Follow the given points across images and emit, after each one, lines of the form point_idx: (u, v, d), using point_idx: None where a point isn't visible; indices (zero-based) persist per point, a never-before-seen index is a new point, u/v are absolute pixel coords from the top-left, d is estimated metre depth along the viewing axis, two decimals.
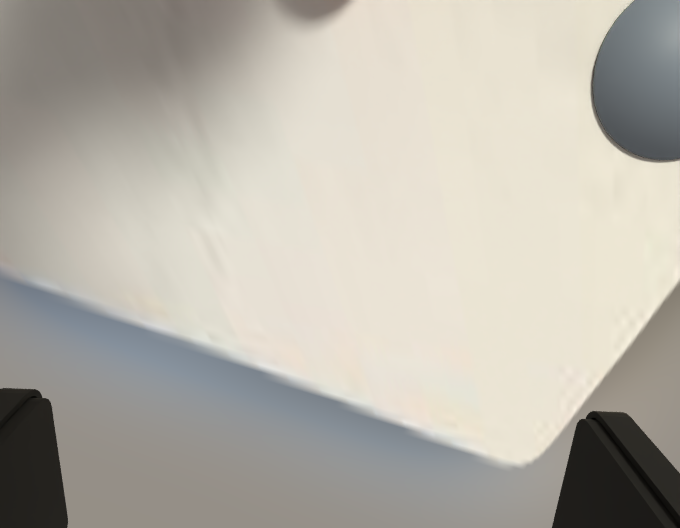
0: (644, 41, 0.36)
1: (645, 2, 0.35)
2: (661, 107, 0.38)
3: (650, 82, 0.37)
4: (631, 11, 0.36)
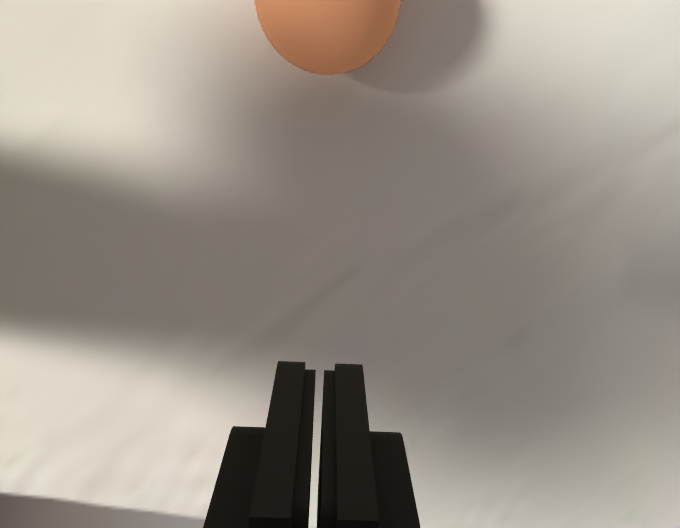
0: None
1: None
2: None
3: None
4: None
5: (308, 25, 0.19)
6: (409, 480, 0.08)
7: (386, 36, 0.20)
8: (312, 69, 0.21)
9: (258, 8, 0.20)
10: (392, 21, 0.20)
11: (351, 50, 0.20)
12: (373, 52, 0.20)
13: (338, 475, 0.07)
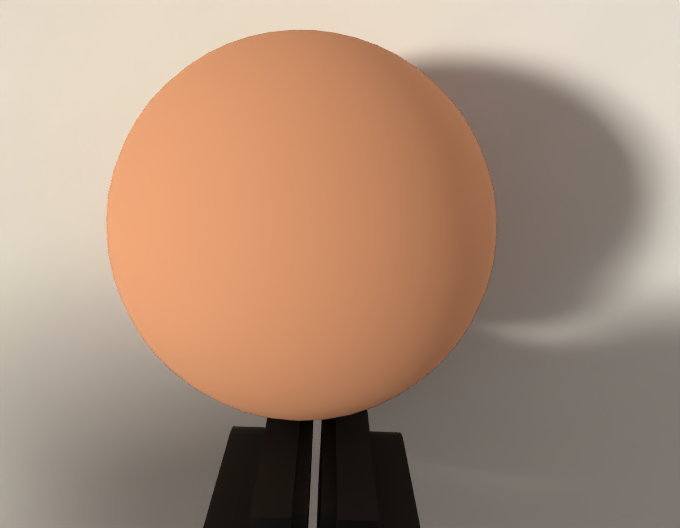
0: None
1: None
2: None
3: None
4: None
5: (245, 264, 0.05)
6: (409, 480, 0.08)
7: (478, 300, 0.07)
8: (268, 408, 0.07)
9: (109, 251, 0.07)
10: (491, 260, 0.07)
11: (390, 338, 0.06)
12: (448, 346, 0.07)
13: (338, 475, 0.07)
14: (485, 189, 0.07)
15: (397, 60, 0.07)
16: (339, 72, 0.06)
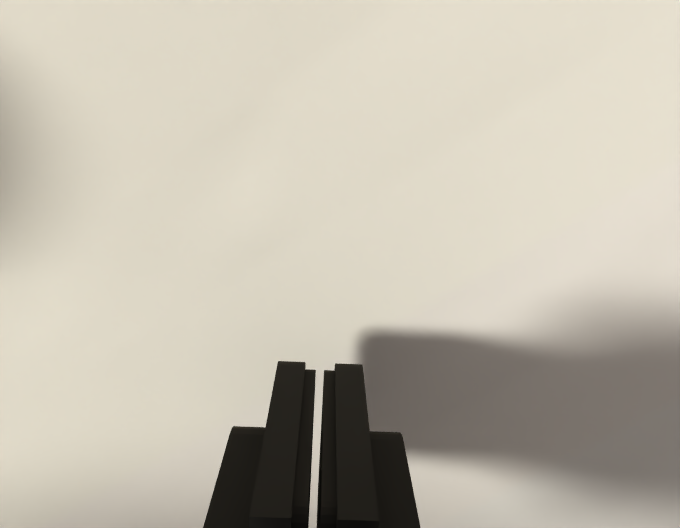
0: None
1: None
2: None
3: None
4: None
5: None
6: (409, 480, 0.08)
7: None
8: None
9: None
10: None
11: None
12: None
13: (338, 475, 0.07)
14: None
15: None
16: None
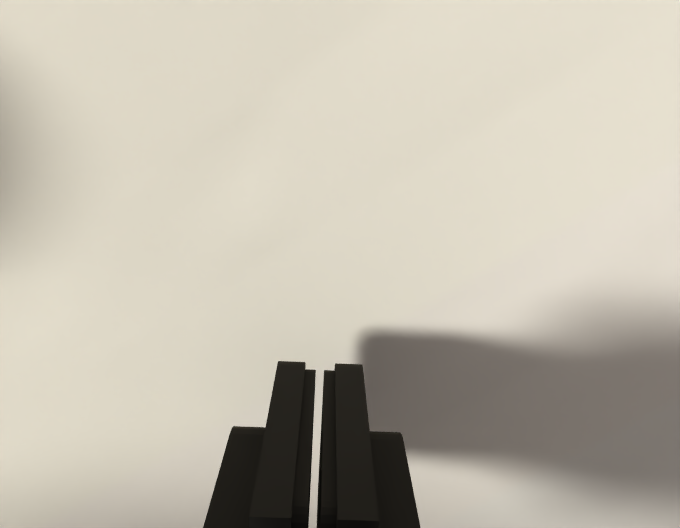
0: None
1: None
2: None
3: None
4: None
5: None
6: (409, 480, 0.08)
7: None
8: None
9: None
10: None
11: None
12: None
13: (338, 475, 0.07)
14: None
15: None
16: None
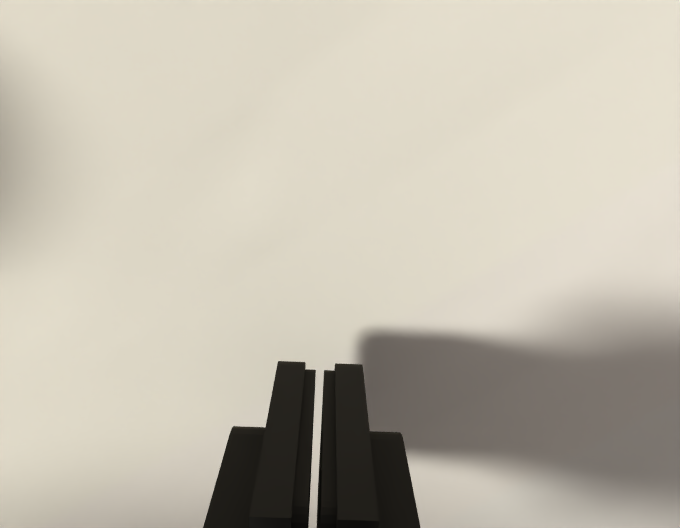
0: None
1: None
2: None
3: None
4: None
5: None
6: (409, 480, 0.08)
7: None
8: None
9: None
10: None
11: None
12: None
13: (338, 475, 0.07)
14: None
15: None
16: None
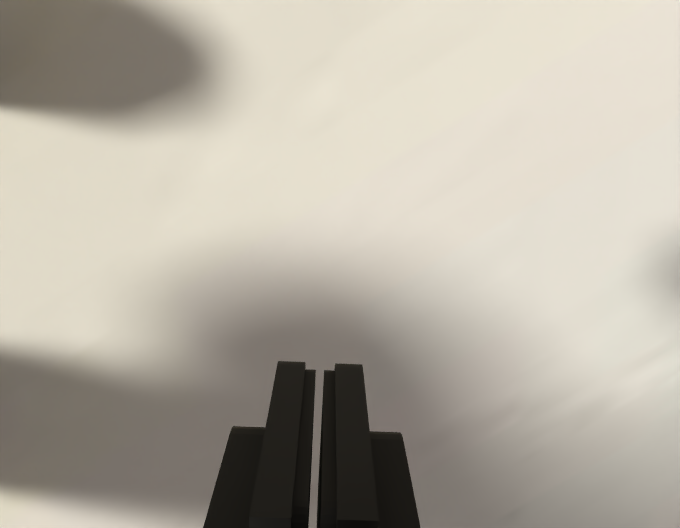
0: None
1: None
2: None
3: None
4: None
5: None
6: (409, 480, 0.08)
7: None
8: None
9: None
10: None
11: None
12: None
13: (338, 475, 0.07)
14: None
15: None
16: None
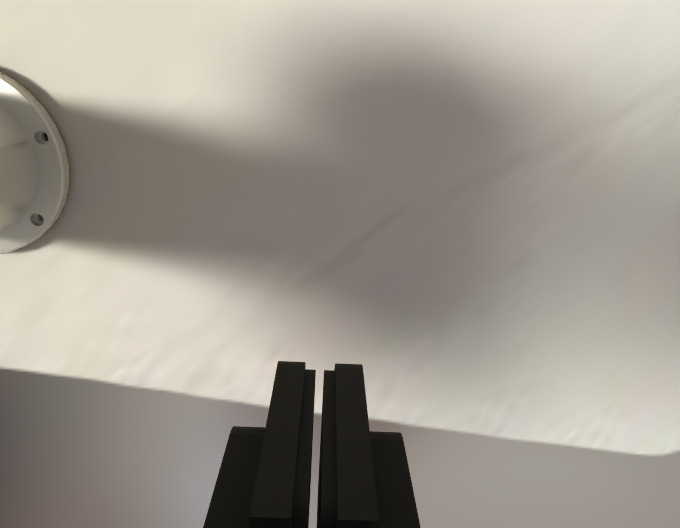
0: None
1: None
2: None
3: None
4: None
5: None
6: (409, 480, 0.08)
7: None
8: None
9: None
10: None
11: None
12: None
13: (338, 475, 0.07)
14: None
15: None
16: None
